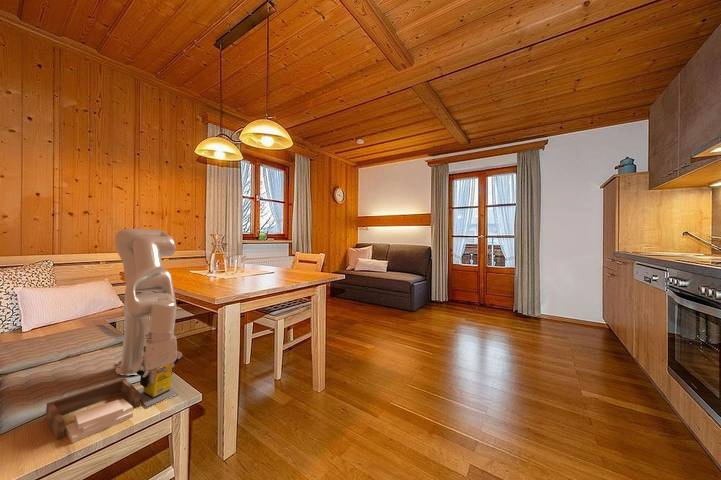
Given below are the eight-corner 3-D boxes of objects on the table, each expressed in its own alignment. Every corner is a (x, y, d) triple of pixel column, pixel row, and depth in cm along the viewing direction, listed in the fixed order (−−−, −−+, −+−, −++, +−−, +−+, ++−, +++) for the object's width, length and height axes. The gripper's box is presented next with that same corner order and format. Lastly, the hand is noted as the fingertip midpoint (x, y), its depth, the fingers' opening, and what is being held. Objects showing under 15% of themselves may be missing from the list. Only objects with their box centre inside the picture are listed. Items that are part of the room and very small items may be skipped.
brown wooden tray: (45, 418, 85) (46, 403, 85) (123, 391, 101) (124, 377, 101) (57, 440, 79) (58, 423, 78) (138, 406, 95) (139, 392, 95)
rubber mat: (131, 392, 101) (131, 391, 101) (162, 381, 110) (162, 380, 110) (146, 408, 95) (146, 406, 95) (178, 394, 104) (178, 393, 104)
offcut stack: (64, 430, 82) (65, 415, 82) (124, 406, 94) (125, 393, 94) (72, 443, 78) (73, 428, 78) (133, 417, 90) (135, 403, 90)
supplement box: (170, 390, 104) (173, 362, 104) (153, 399, 99) (156, 369, 98) (159, 385, 106) (162, 357, 106) (142, 393, 101) (145, 364, 100)
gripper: (137, 345, 92) (132, 396, 93) (191, 331, 107) (186, 376, 108) (127, 337, 96) (122, 387, 97) (181, 325, 110) (176, 368, 111)
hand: (156, 380), depth 102 cm, fingers open, 7 cm apart
